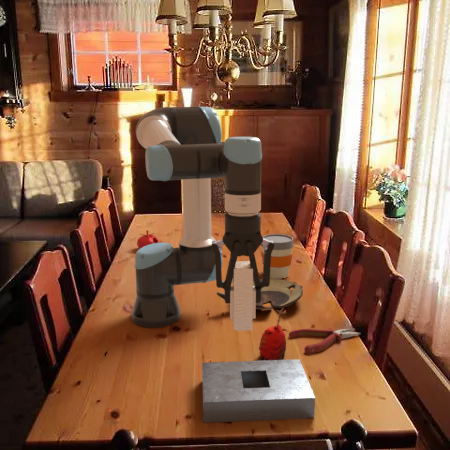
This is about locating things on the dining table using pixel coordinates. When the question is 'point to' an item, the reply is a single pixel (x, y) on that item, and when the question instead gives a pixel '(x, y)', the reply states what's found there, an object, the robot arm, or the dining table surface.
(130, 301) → the dining table surface
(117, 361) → the dining table surface
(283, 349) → the red clay folk toy
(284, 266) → the reusable coffee cup
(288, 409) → the bracket head
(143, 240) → the pomegranate
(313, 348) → the pliers
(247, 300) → the white tall block
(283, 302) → the broken bowl
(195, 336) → the dining table surface
